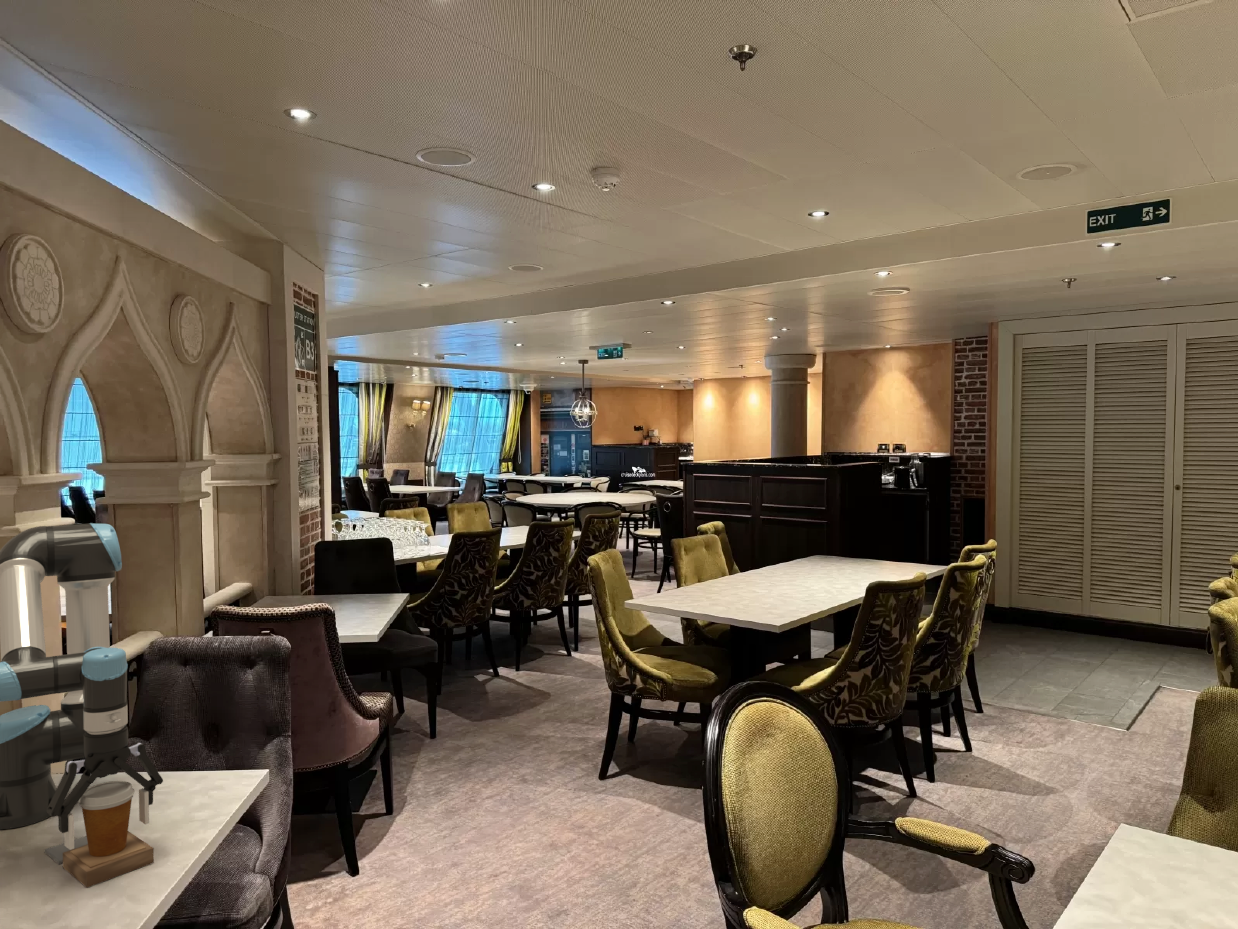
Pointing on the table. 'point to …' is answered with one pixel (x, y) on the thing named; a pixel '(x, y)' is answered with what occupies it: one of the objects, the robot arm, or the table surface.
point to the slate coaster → (64, 849)
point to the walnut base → (107, 861)
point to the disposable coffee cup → (107, 816)
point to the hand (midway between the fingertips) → (107, 834)
